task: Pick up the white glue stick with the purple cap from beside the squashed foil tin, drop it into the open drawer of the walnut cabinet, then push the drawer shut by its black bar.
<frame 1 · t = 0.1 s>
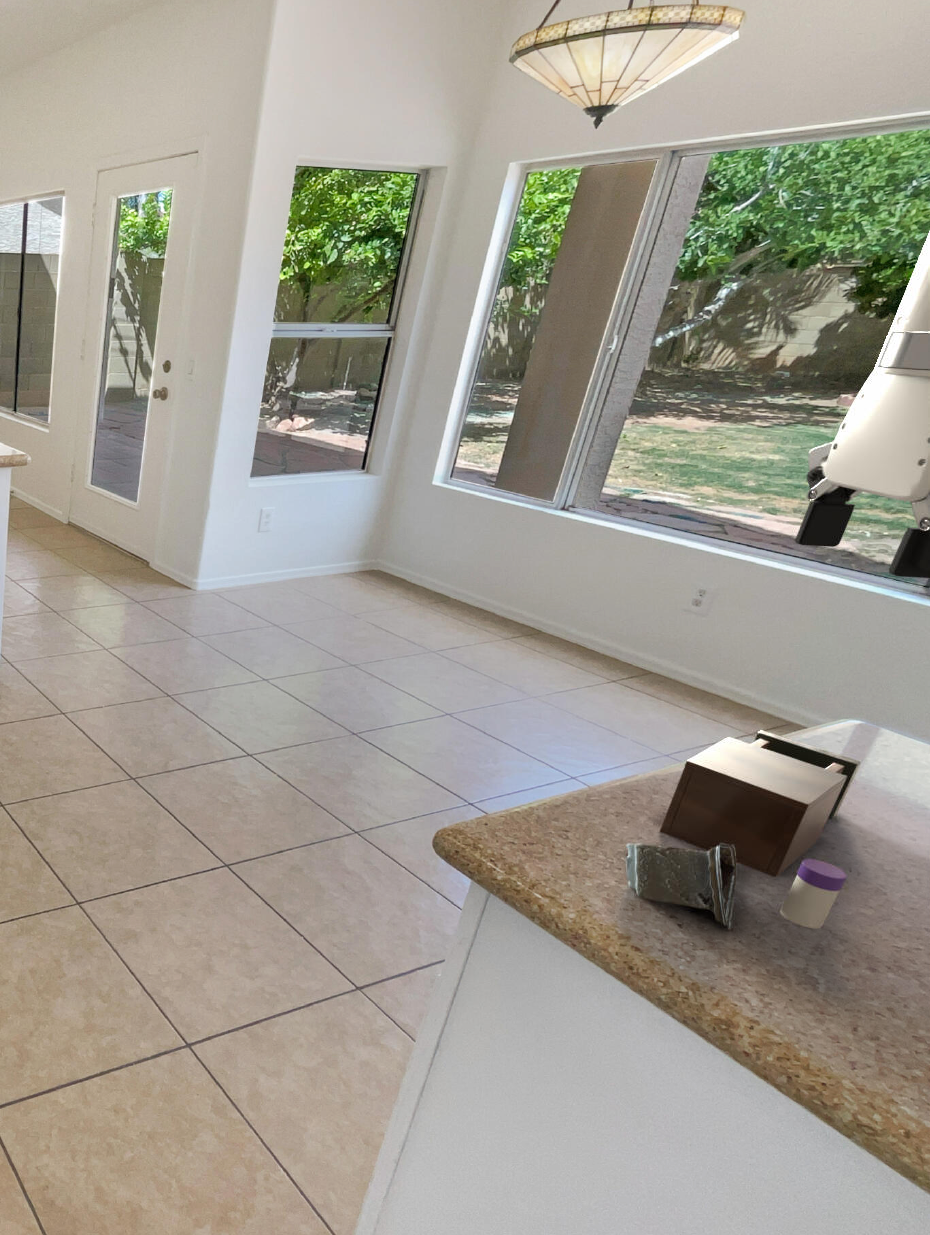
hand: (861, 559, 74), 30 cm above the counter, tool pointing down, fingers open, 9 cm apart
glue stick: (799, 920, 74), on the counter
squashed foil tin: (675, 886, 78), on the counter
cabinet: (735, 840, 85), on the counter
drawer: (788, 778, 89), point 4 cm above the counter, slide at 6.5 cm
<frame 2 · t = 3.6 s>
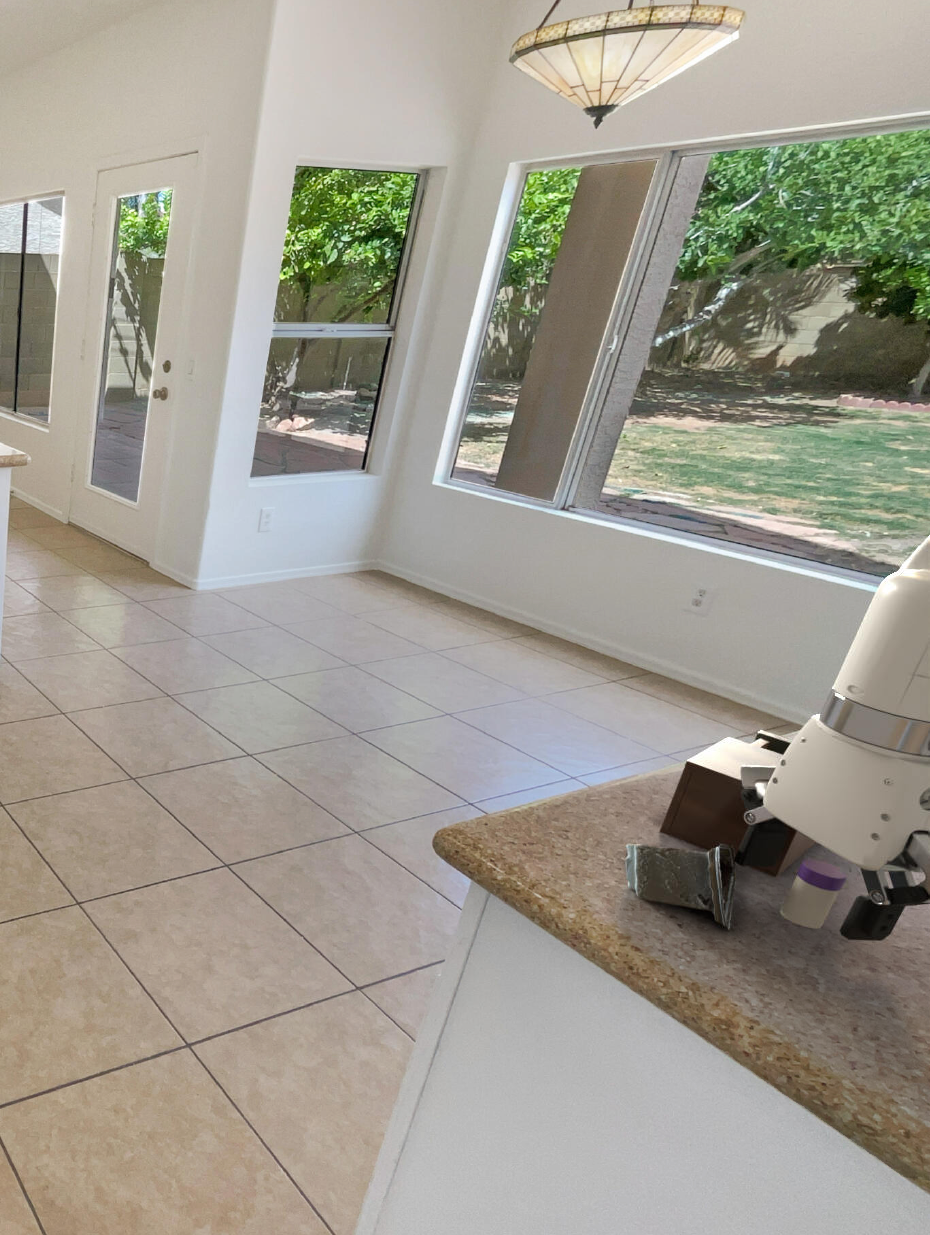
hand: (803, 898, 73), 2 cm above the counter, tool pointing down, fingers open, 9 cm apart
squashed foil tin: (674, 886, 78), on the counter, touching gripper
everything else where it was.
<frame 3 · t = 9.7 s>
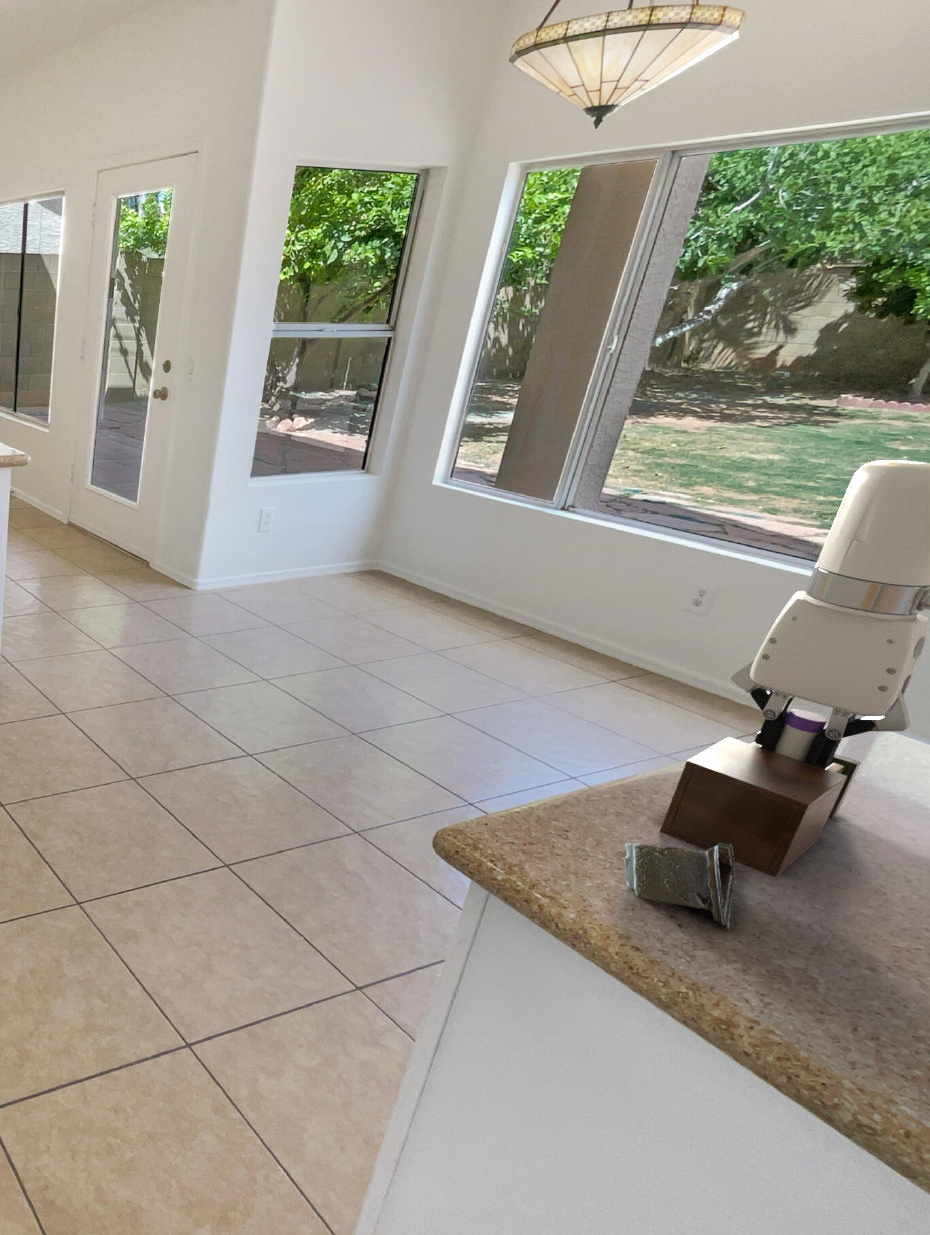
hand: (788, 759, 86), 7 cm above the counter, tool pointing down, fingers closed on glue stick, 2 cm apart
glue stick: (787, 762, 87), point 7 cm above the counter, touching gripper
squashed foil tin: (673, 886, 78), on the counter
drawer: (788, 778, 89), point 4 cm above the counter, slide at 6.5 cm, touching gripper
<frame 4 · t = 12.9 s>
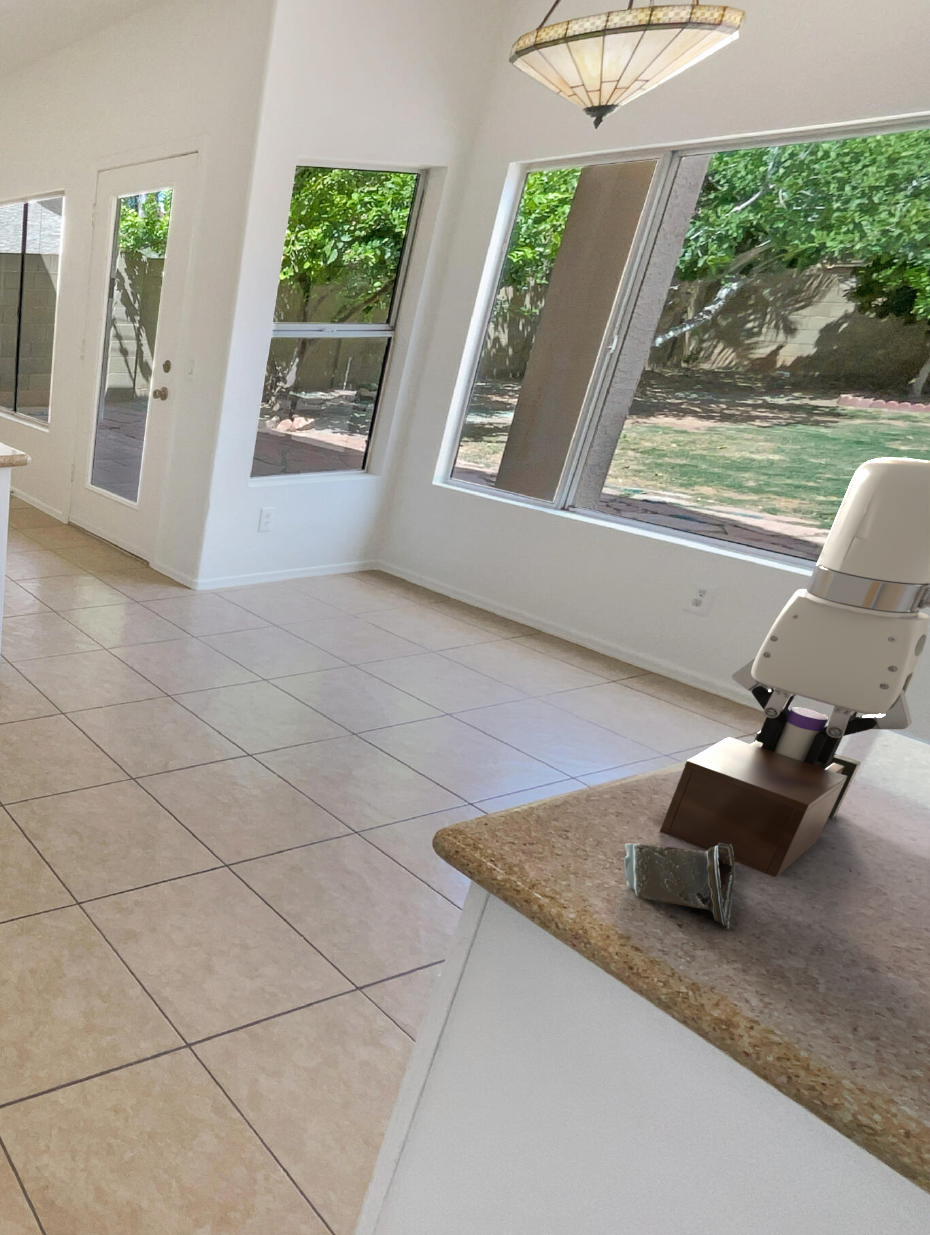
hand: (790, 757, 86), 7 cm above the counter, tool pointing down, fingers closed on glue stick, 2 cm apart
glue stick: (788, 760, 87), point 7 cm above the counter, touching gripper
drawer: (788, 778, 89), point 4 cm above the counter, slide at 6.5 cm
everything else where it was.
when the fingers open (9 cm above the counter, at t = 15.4 s): glue stick drops 6 cm, resting on drawer.
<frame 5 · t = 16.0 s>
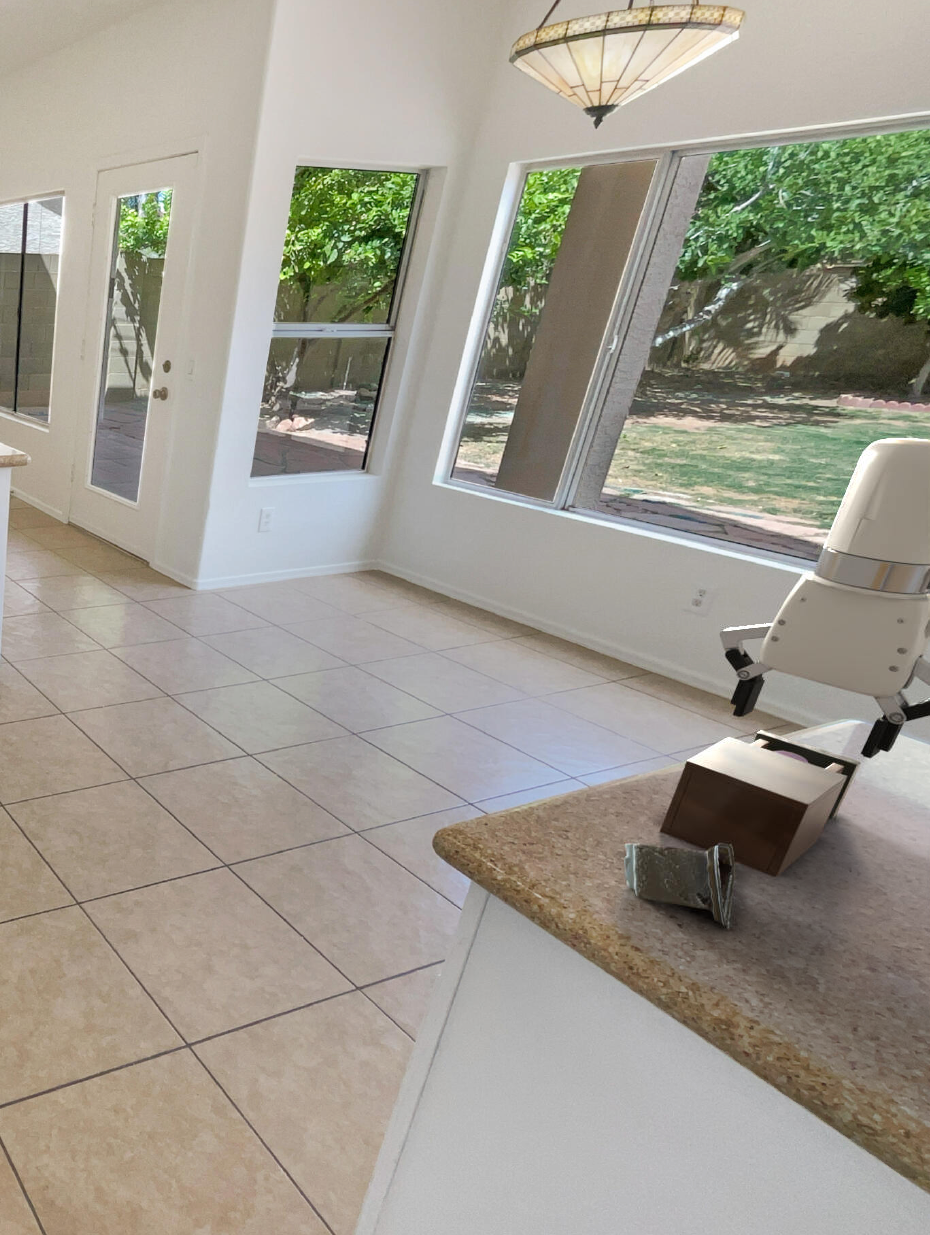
hand: (803, 732, 85), 10 cm above the counter, tool pointing down, fingers open, 9 cm apart
glue stick: (772, 801, 88), point 2 cm above the counter, tilted 8°, touching drawer
drawer: (788, 779, 88), point 4 cm above the counter, slide at 6.4 cm, touching glue stick
everything else where it was.
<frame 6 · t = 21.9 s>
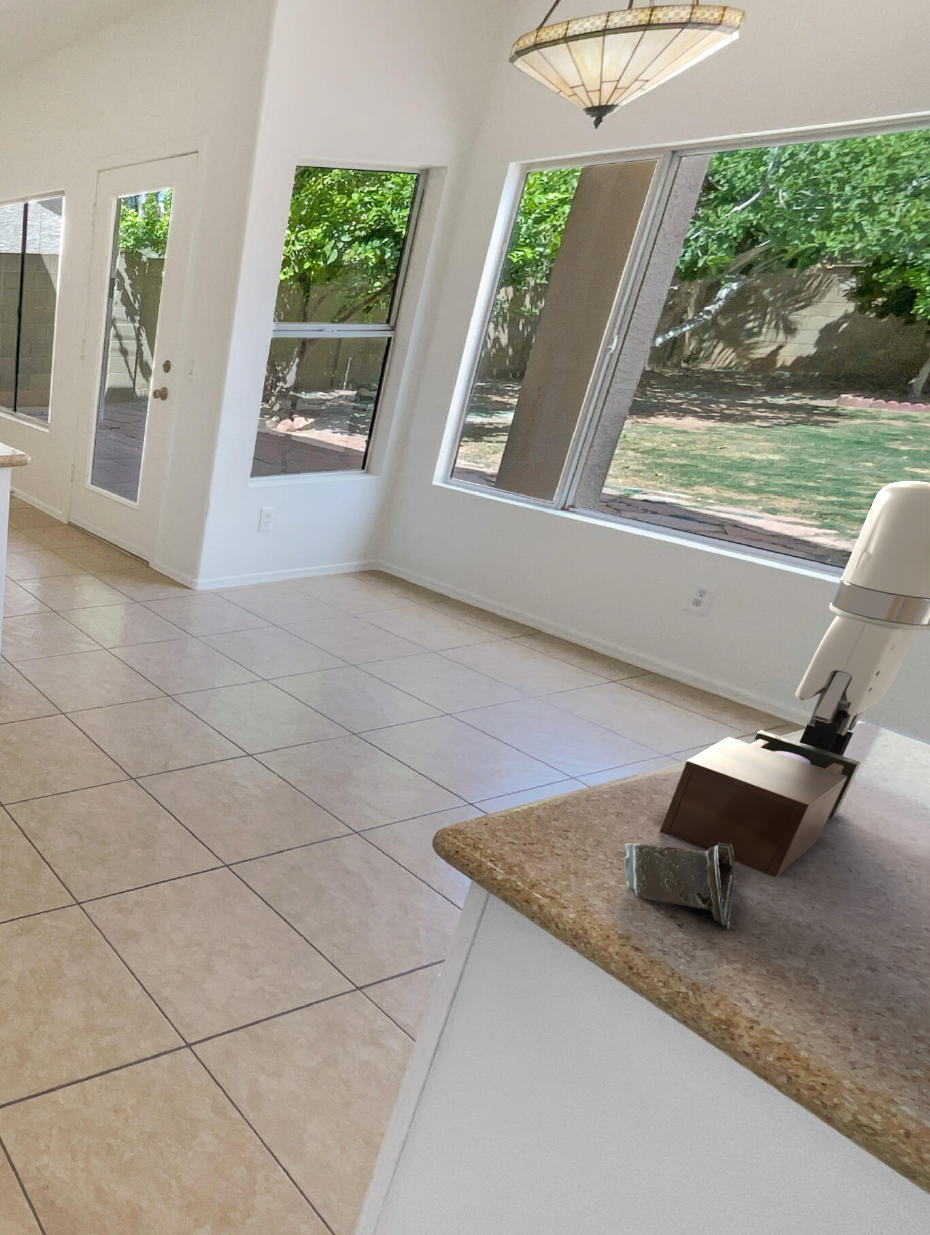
hand: (815, 759, 93), 4 cm above the counter, tool pointing down, fingers closed
glue stick: (772, 803, 88), point 2 cm above the counter, touching drawer
drawer: (788, 779, 88), point 4 cm above the counter, slide at 6.4 cm, touching glue stick, gripper
everything else where it was.
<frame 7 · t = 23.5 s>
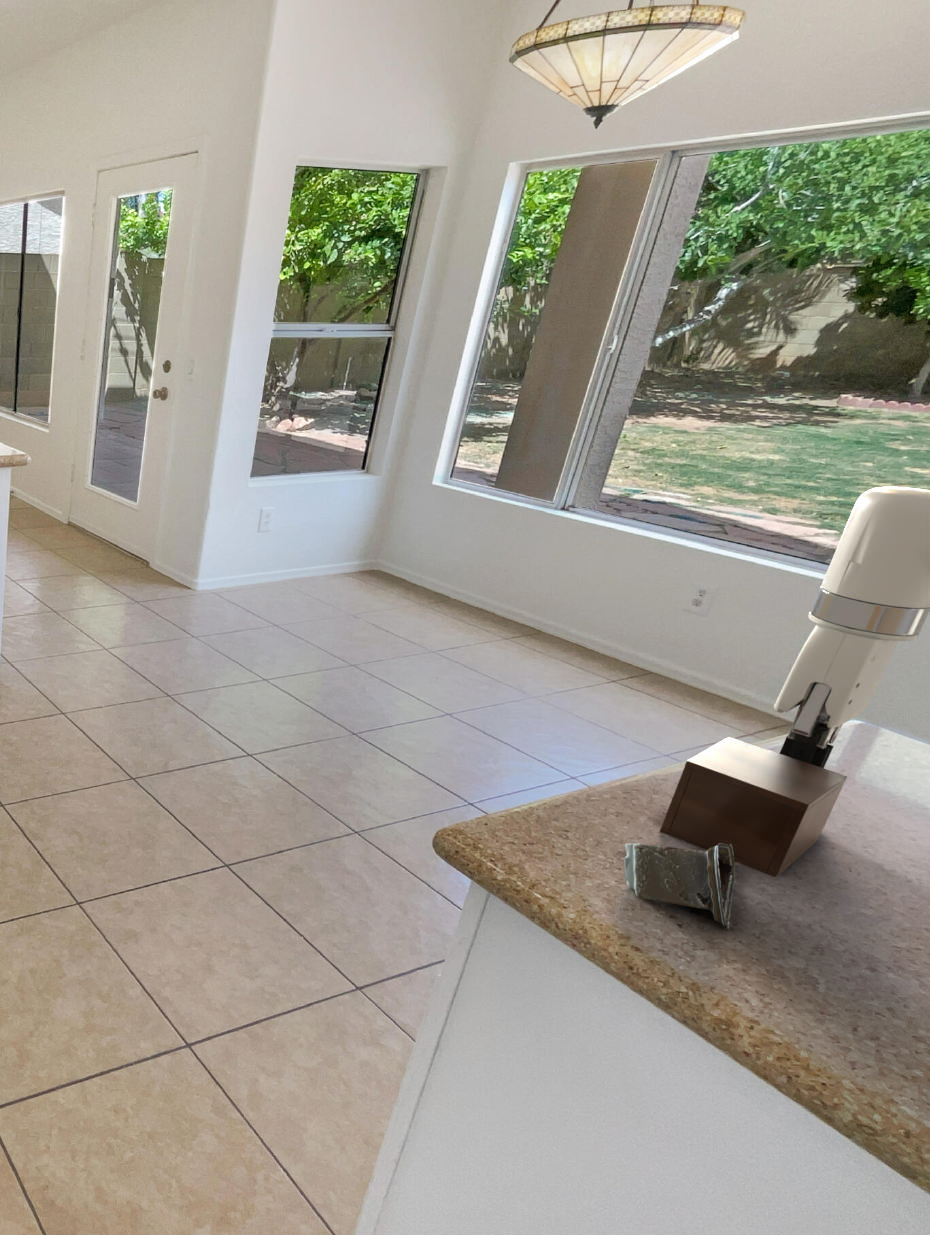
hand: (795, 773, 90), 4 cm above the counter, tool pointing down, fingers closed
glue stick: (749, 819, 85), point 2 cm above the counter, touching drawer
drawer: (766, 794, 86), point 4 cm above the counter, slide at 0.3 cm, touching glue stick, gripper
everything else where it was.
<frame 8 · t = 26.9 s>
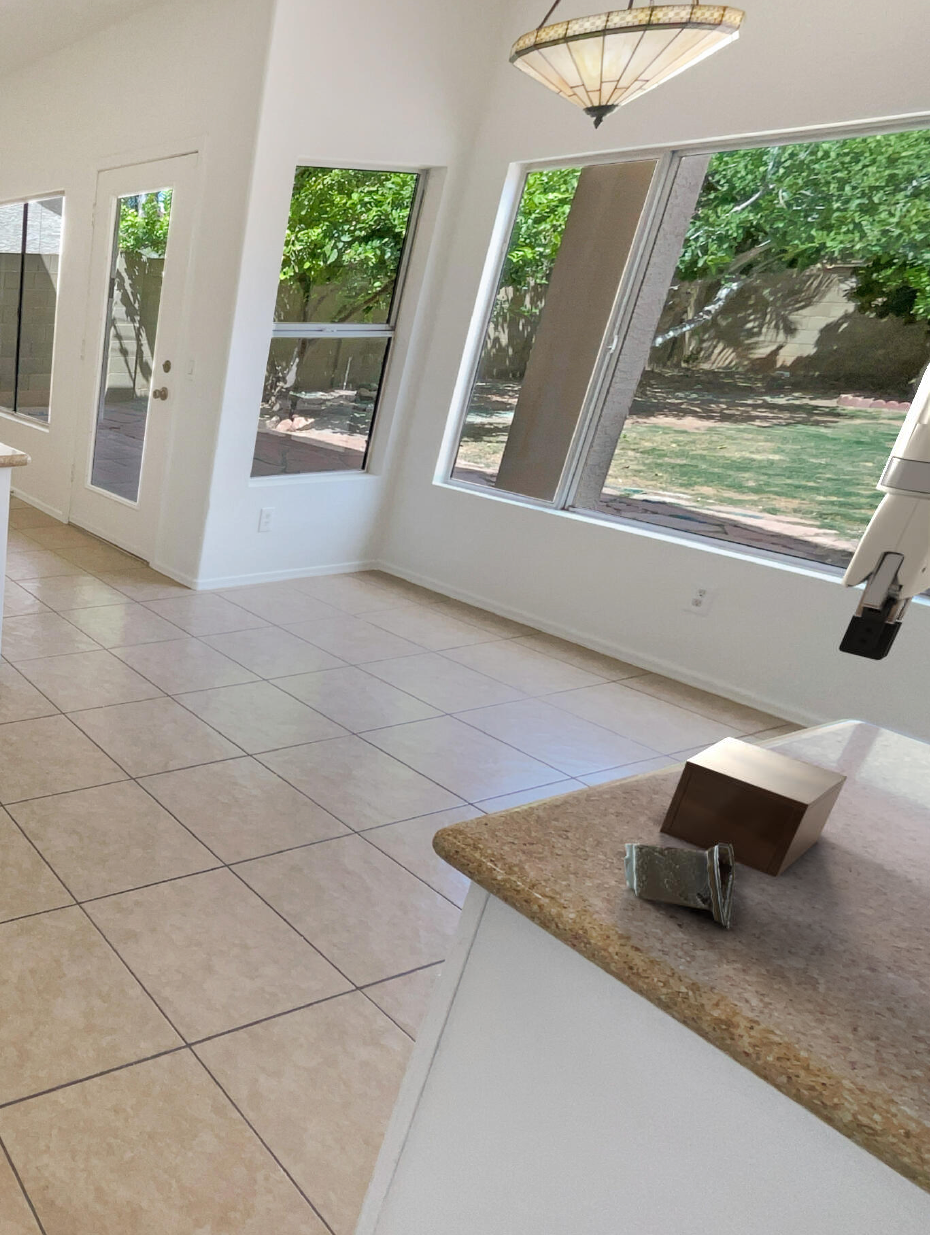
hand: (861, 654, 87), 17 cm above the counter, tool pointing down, fingers closed
drawer: (766, 794, 86), point 4 cm above the counter, slide at 0.2 cm, touching glue stick
everything else where it was.
at the end: glue stick inside the target area in the cabinet (1.8 cm from its centre), point 1.9 cm above the cabinet's base; drawer slide at 0.2 cm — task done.
